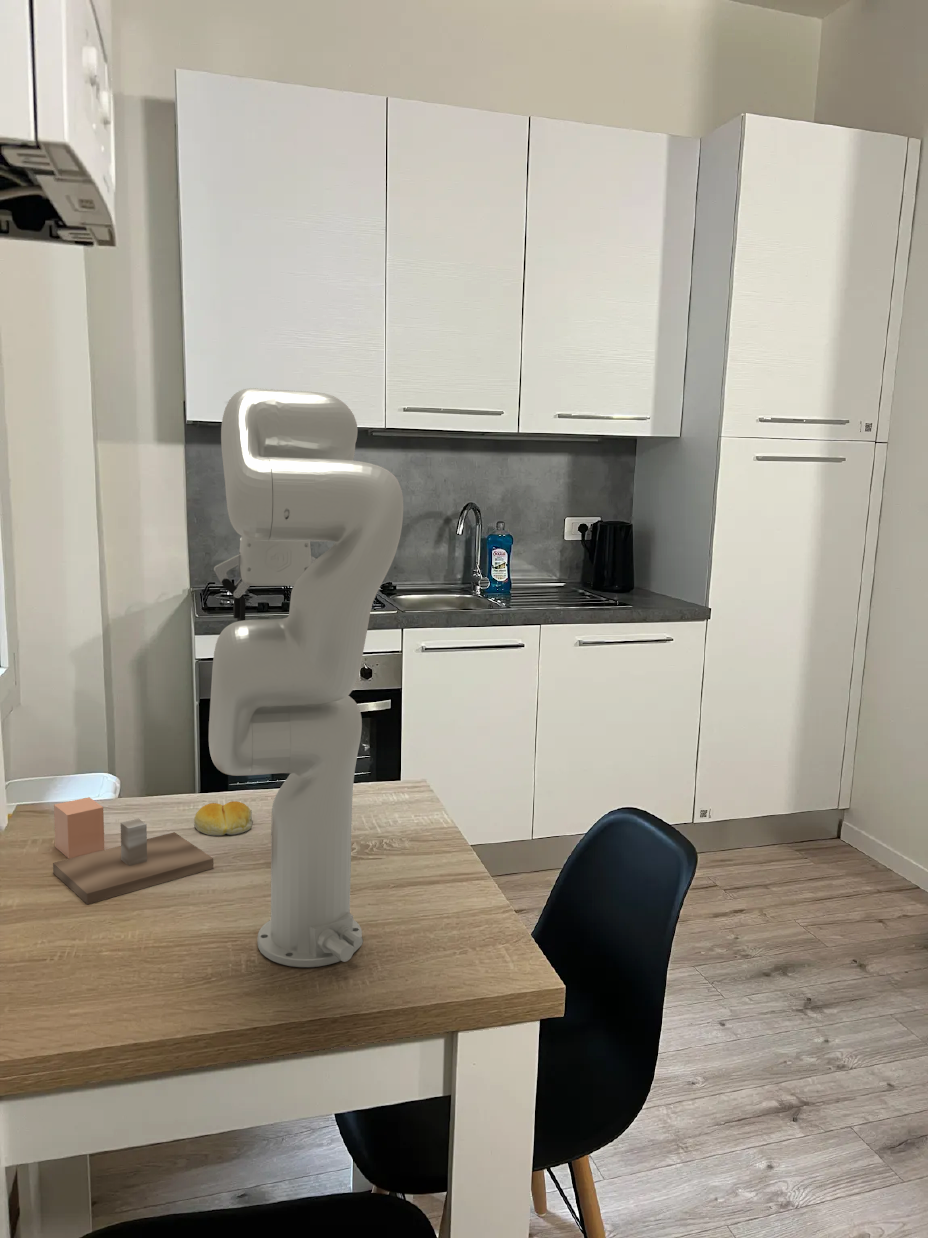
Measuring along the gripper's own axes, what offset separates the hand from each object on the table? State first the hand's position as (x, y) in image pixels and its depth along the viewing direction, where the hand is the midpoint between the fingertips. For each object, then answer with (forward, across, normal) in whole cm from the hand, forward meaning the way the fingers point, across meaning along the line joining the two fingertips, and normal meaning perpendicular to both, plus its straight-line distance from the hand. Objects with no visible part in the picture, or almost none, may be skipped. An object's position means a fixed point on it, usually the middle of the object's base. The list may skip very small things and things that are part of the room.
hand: (274, 622), depth 142 cm
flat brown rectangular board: (+34, -20, -7) cm, 40 cm away
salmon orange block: (+34, -28, +3) cm, 44 cm away
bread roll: (+34, -6, +6) cm, 36 cm away
